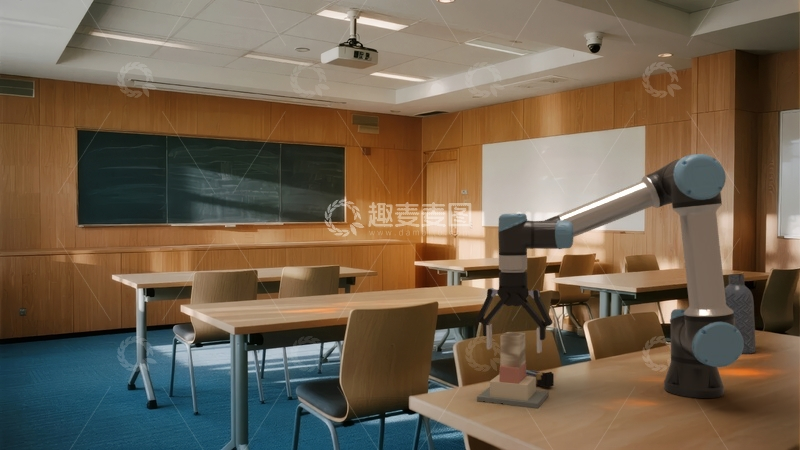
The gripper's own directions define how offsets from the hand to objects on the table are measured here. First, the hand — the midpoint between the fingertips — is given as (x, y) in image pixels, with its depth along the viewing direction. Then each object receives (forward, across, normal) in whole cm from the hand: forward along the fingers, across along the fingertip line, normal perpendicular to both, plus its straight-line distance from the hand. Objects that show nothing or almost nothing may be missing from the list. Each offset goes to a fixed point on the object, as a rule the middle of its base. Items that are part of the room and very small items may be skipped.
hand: (513, 350), depth 170 cm
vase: (+14, -59, -99) cm, 116 cm away
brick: (+4, 0, 0) cm, 4 cm away
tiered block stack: (+13, 0, 0) cm, 13 cm away
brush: (+13, 0, -18) cm, 22 cm away
